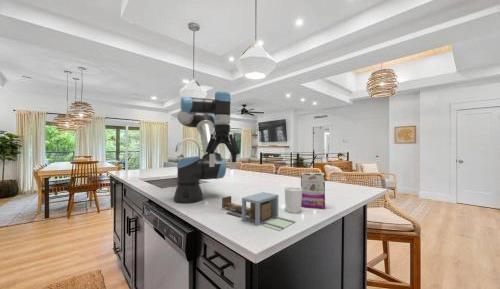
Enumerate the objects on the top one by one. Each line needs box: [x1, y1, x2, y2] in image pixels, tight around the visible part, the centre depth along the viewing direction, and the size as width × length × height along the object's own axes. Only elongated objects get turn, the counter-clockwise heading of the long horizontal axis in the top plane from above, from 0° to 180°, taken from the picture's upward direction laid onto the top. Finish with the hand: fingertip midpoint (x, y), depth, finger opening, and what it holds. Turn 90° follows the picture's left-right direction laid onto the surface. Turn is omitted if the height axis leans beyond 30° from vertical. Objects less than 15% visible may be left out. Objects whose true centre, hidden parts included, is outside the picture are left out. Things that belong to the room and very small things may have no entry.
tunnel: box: [226, 191, 295, 231], centre depth 89 cm, size 28×14×9 cm, turn 50°
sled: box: [221, 195, 271, 222], centre depth 94 cm, size 24×6×6 cm, turn 50°
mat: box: [262, 216, 297, 232], centre depth 82 cm, size 8×12×1 cm, turn 140°
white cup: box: [284, 186, 302, 214], centre depth 99 cm, size 8×8×10 cm
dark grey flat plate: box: [226, 210, 249, 219], centre depth 95 cm, size 8×10×1 cm
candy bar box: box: [300, 172, 326, 210], centre depth 105 cm, size 11×5×16 cm, turn 73°
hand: (221, 168), depth 105 cm, fingers open, 13 cm apart
